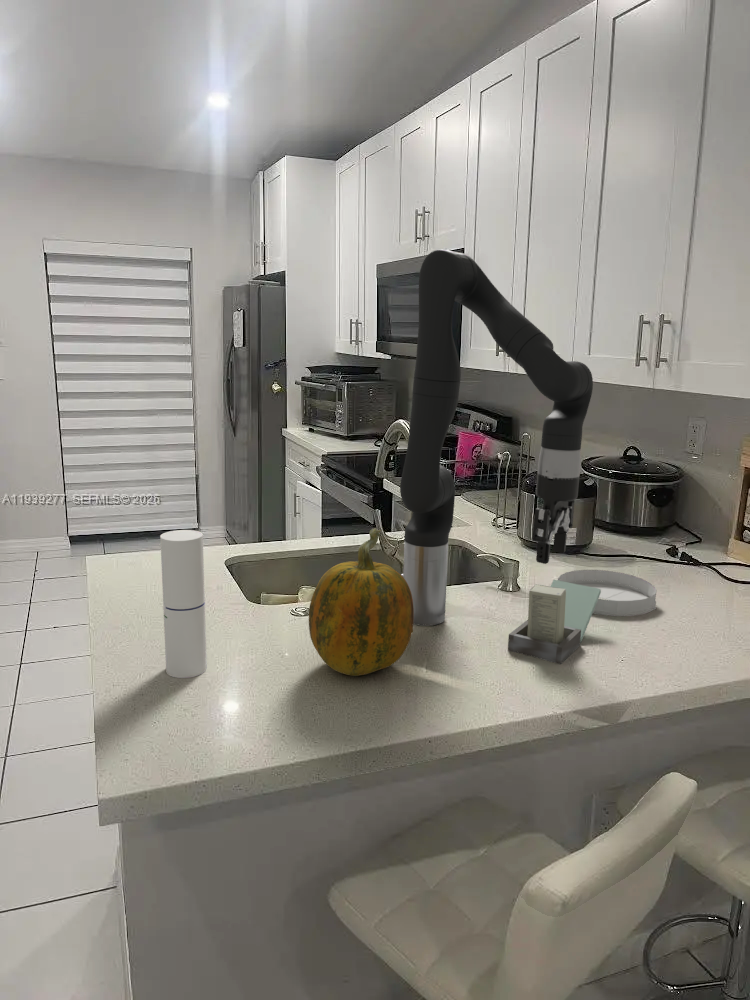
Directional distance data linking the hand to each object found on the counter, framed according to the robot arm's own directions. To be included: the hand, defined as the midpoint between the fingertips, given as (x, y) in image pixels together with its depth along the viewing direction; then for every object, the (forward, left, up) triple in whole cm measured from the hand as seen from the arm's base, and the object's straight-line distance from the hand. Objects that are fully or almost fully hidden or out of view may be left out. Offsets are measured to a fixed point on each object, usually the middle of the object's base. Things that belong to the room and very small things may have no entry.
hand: (550, 557), depth 141 cm
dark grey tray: (0, +6, -20) cm, 20 cm away
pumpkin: (-25, -26, -20) cm, 41 cm away
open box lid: (0, +12, -14) cm, 19 cm away
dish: (+1, +35, -20) cm, 40 cm away
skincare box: (0, 0, -19) cm, 19 cm away
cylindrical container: (-50, -45, -20) cm, 70 cm away
